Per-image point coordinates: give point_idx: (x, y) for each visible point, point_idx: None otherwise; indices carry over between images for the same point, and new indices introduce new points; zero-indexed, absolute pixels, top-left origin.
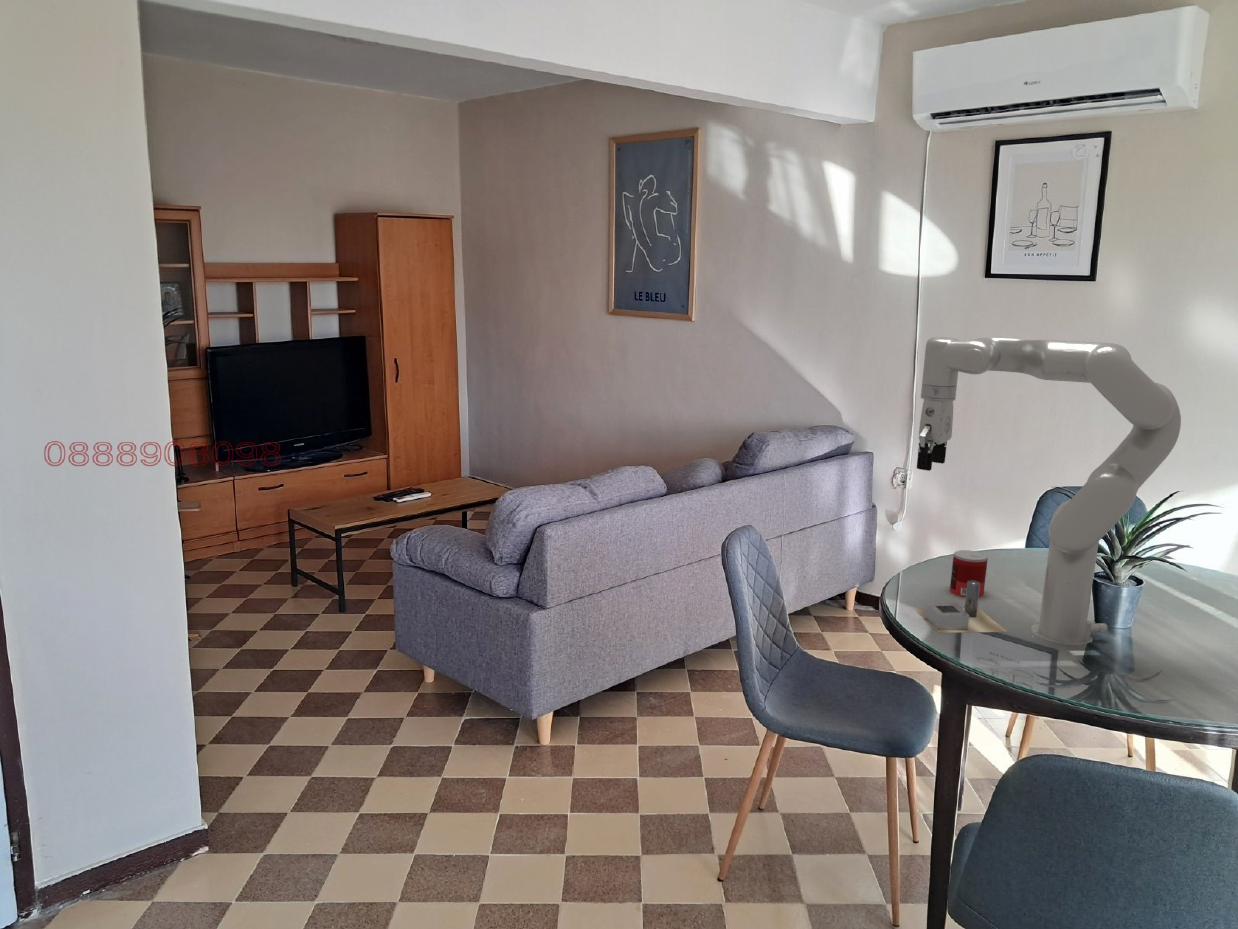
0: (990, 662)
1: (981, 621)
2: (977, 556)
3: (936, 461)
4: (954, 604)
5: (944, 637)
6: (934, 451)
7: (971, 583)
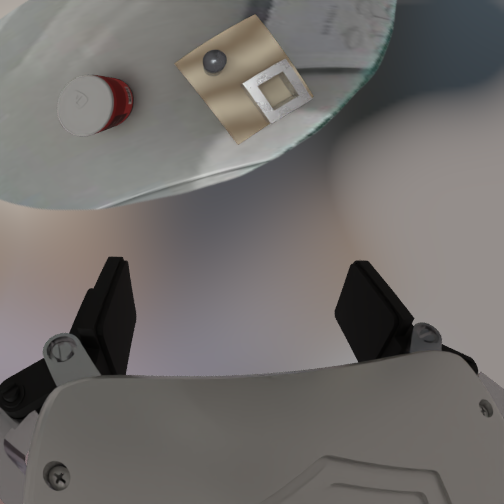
0: (353, 35)
1: (232, 48)
2: (80, 94)
3: (132, 295)
4: (249, 84)
5: None
6: (124, 350)
7: (224, 62)
